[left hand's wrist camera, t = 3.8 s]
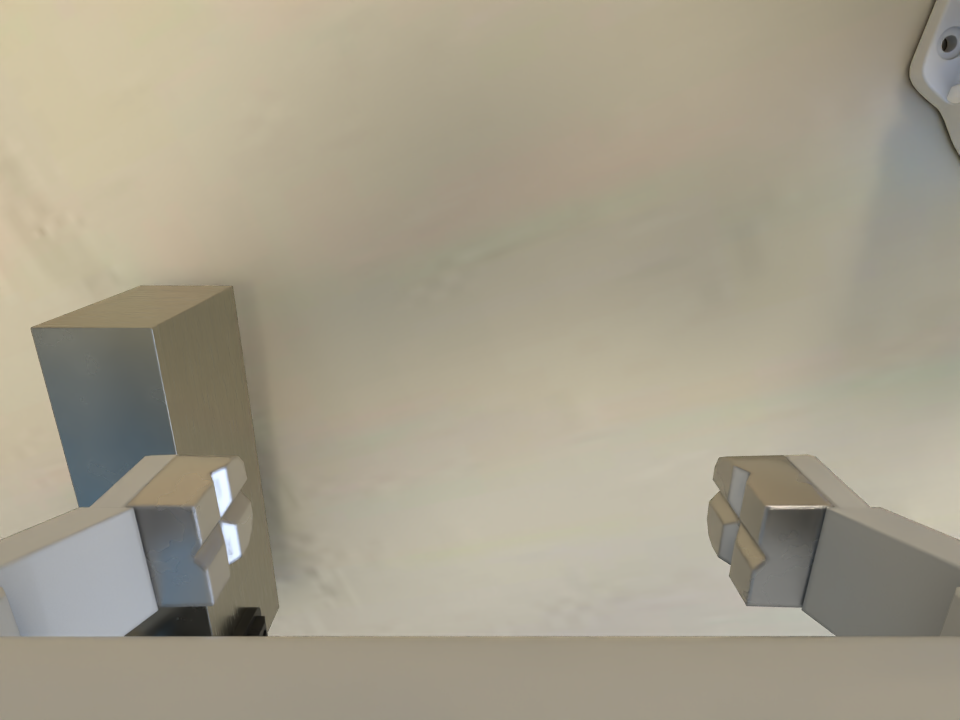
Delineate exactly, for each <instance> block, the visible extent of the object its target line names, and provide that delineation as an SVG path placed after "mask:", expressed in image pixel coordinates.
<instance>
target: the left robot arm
mask: <svg viewBox="0 0 960 720" xmlns="http://www.w3.org/2000/svg"><path fill="white" fill-rule="evenodd" d="M944 39H946V40H947V43H948V44H947V48H946V50H945V51H943V50H942V42H943V40H944ZM909 75H910V80H911V82H912V84H913V86H914V87H915V88H916V90H917V91H918V92H919V93H920V94H921V95H922V96H923V97H924V98H925V99H927V100H928V101H929V102H930V103H931V104H932V105H934V106H935V107H936V108H937V109H938V110H939V112H940V113H941V115H942V117H943V119H944V121H945V124H946V127H947V130H948V133H949V135H950V138H951V141H952V143H953V145H954V147H955V149H956V151H957V152H958V154H959V155H960V0H936V3H935V5H934V7H933V10H932V12H931V15H930V17H929V20H928V22H927V25H926V27H925V30H924V32H923V35H922V37H921V39H920V42H919V44H918V47H917V49H916V52H915V54H914V57H913V59H912V62H911V65H910V70H909ZM246 480H247V476H246V471H245V466H244V462H243V461H242V460H241V459H240V457H239V456H199V455H181V456H180V455H151V456H145V457H144V458H143V459H142V460H140V461H139V462H138V463H137V464H136V465H135V466H134V467H133V468H132V469H131V470H130V471H128V472H127V473H126V474H125V475H124V476H123V477H122V478H121V479H120V480H119V481H118V482H116V483H115V484H114V485H113V486H112V487H111V488H110V489H109V490H108V491H107V492H106V493H104V494H103V495H102V496H101V497H100V498H99V499H98V500H97V501H96V502H95V503H94V504H92V505H91V506H90V507H79V508H77V509H74V510H72V511H69V512H67V513H65V514H62V515H60V516H57V517H55V518H52V519H50V520H48V521H45V522H43V523H40V524H38V525H36V526H33V527H31V528H28V529H26V530H23V531H21V532H19V533H16V534H14V535H11V536H9V537H6V538H4V539H2V540H0V720H960V540H958V539H956V538H953V537H951V536H949V535H946V534H944V533H941V532H939V531H936V530H934V529H932V528H929V527H927V526H924V525H922V524H920V523H917V522H915V521H912V520H910V519H907V518H905V517H903V516H900V515H898V514H895V513H893V512H891V511H888V510H886V509H883V508H881V507H870V506H869V505H868V504H867V503H865V502H864V501H863V500H862V499H861V498H860V497H859V496H858V495H857V494H856V493H855V492H853V491H852V490H851V489H850V488H849V487H848V486H847V485H846V484H845V483H844V482H843V481H842V480H840V479H839V478H838V477H837V476H836V475H835V474H834V473H833V472H832V471H831V470H830V469H828V468H827V467H826V466H825V465H824V464H823V463H822V462H821V461H820V460H819V459H818V458H817V457H815V456H811V455H808V454H806V455H770V456H729V457H720V458H719V459H718V461H717V463H716V465H715V469H714V475H713V480H714V482H715V484H716V485H717V487H718V488H719V490H720V491H719V492H718V493H717V494H716V495H715V496H714V497H713V498H712V499H711V500H710V501H709V507H708V515H707V524H708V534H709V538H710V541H711V544H712V547H713V549H714V550H715V552H716V554H717V556H718V557H719V558H720V559H722V560H724V561H725V562H727V563H728V564H730V565H731V567H730V573H729V577H730V578H731V580H732V582H733V584H734V585H735V587H736V589H737V590H738V592H739V594H740V595H741V597H742V599H743V601H744V602H745V604H746V606H764V607H801V608H802V611H804V612H805V613H806V614H808V615H809V616H810V617H812V618H813V619H814V620H816V621H817V622H818V623H820V624H821V625H822V626H824V627H825V628H826V629H828V630H829V631H830V632H831V633H833V634H834V635H835V636H125V635H126V634H127V633H129V632H130V631H131V630H133V629H134V628H135V627H137V626H138V625H139V624H141V623H142V622H143V621H145V620H146V619H147V618H149V617H150V616H151V615H153V614H154V613H155V612H157V611H158V608H159V607H194V606H214V604H215V602H216V601H217V599H218V597H219V596H220V594H221V592H222V590H223V589H224V587H225V585H226V584H227V582H228V580H229V578H230V577H231V573H230V567H229V565H230V564H232V563H233V562H235V561H236V560H238V559H240V558H241V557H242V556H243V554H244V552H245V550H246V549H247V547H248V545H249V541H250V536H251V532H252V527H253V513H252V506H251V501H250V500H249V499H248V498H247V497H246V496H245V495H244V494H243V493H242V492H241V491H240V490H241V488H242V487H243V485H244V484H245V482H246Z"/></svg>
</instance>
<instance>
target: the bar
mask: <svg viewBox="0 0 960 720" xmlns="http://www.w3.org/2000/svg"><path fill="white" fill-rule="evenodd" d="M31 332H32V336H33V339H34V343H35V347H36V350H37V354H38V358H39V362H40V365H41V369H42V373H43V376H44V380H45V384H46V387H47V391H48V395H49V399H50V402H51V406H52V410H53V413H54V417H55V421H56V424H57V428H58V432H59V435H60V439H61V443H62V447H63V450H64V454H65V458H66V461H67V465H68V469H69V472H70V476H71V480H72V484H73V487H74V491H75V495H76V498H77V502H78V506H79V507H90V506H91V505H92V504H94V503H95V502H96V501H97V500H98V499H99V498H100V497H101V496H102V495H103V494H104V493H106V492H107V491H108V490H109V489H110V488H111V487H112V486H113V485H114V484H115V483H116V482H118V481H119V480H120V479H121V478H122V477H123V476H124V475H125V474H126V473H127V472H128V471H130V470H131V469H132V468H133V467H134V466H135V465H136V464H137V463H138V462H139V461H140V460H142V459H143V458H144V457H145V456H151V455H180V456H181V455H199V456H239V457H240V459H241V460H242V461H243V462H244V466H245V471H246V476H247V480H246V482H245V484H244V485H243V487H242V488H241V490H240V491H241V492H242V493H243V494H244V495H245V496H246V497H247V498H248V499H249V500H250V501H251V506H252V513H253V527H252V532H251V536H250V541H249V545H248V547H247V549H246V550H245V552H244V554H243V556H242V557H241V558H240V559H238V560H236V561H235V562H233V563H232V564H230V565H229V567H230V573H231V577H230V578H229V580H228V582H227V584H226V585H225V587H224V589H223V590H222V592H221V594H220V596H219V597H218V599H217V601H216V602H215V604H214V606H194V607H159V608H158V611H157V612H155V613H154V614H153V615H151V616H150V617H149V618H147V619H146V620H145V621H143V622H142V623H141V624H139V625H138V626H137V627H135V628H134V629H133V630H131V631H130V632H129V633H127V634H126V635H125V636H232V635H233V633H234V632H235V630H236V628H237V626H238V624H239V622H240V620H241V618H242V616H243V615H244V613H245V611H246V609H247V608H248V607H260V610H261V616H265V621H266V627H267V632H268V630H269V628H270V626H271V624H272V622H273V619H274V617H275V615H276V613H277V611H278V609H279V602H278V595H277V588H276V582H275V575H274V568H273V561H272V554H271V547H270V540H269V533H268V526H267V519H266V512H265V505H264V498H263V492H262V485H261V478H260V471H259V464H258V457H257V450H256V443H255V436H254V429H253V422H252V415H251V409H250V402H249V395H248V388H247V381H246V374H245V367H244V360H243V353H242V346H241V339H240V332H239V326H238V319H237V312H236V305H235V298H234V291H233V286H138V287H136V288H133V289H130V290H128V291H125V292H123V293H120V294H117V295H115V296H112V297H109V298H107V299H104V300H102V301H99V302H96V303H94V304H91V305H88V306H86V307H83V308H81V309H78V310H75V311H73V312H70V313H68V314H65V315H62V316H60V317H57V318H54V319H52V320H49V321H47V322H44V323H41V324H39V325H36V326H33V327H31Z"/></svg>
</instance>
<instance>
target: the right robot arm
mask: <svg viewBox="0 0 960 720" xmlns="http://www.w3.org/2000/svg"><path fill="white" fill-rule="evenodd" d="M232 636H268V633H267V627H266V621H265V616H261V610H260V607H248V608H247V609H246V611H245V613H244V615H243V616H242V618H241V620H240V622H239V624H238V626H237V628H236V630H235V632H234V633H233V635H232Z"/></svg>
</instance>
